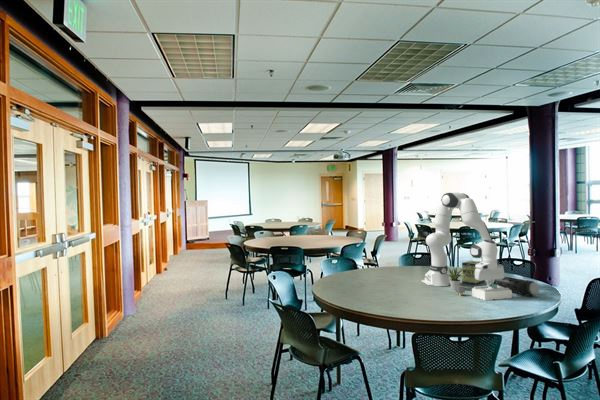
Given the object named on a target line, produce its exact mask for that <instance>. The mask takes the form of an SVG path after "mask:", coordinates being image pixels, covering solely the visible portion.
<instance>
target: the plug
mask: <svg viewBox="0 0 600 400" xmlns="http://www.w3.org/2000/svg"><path fill="white" fill-rule="evenodd" d="M465 291H466V290H465V286H464V285H461V284H460V285H458V286H456V290H455V292H456V296H460V297H461V296H463V295H464V293H465Z"/></svg>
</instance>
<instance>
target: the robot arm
mask: <svg viewBox="0 0 600 400" xmlns="http://www.w3.org/2000/svg"><path fill="white" fill-rule="evenodd" d="M454 209H458V210H459V212H460V217H461V220H462V223H463V224H464V225H465V226H467V227H469V228H472V229H474V230H476V231H477V232H478V233H479V235H480V238H481V242H478V243H474V244H472V245H471V246H470V248H469V254H470V256H471V257H472V258H474V259H481V261H480V263H478V264H476V265H475V267H476V269H475V279H476V280H479V281H481V280H484V282H486V283H485V284H486V286H488V287H492V286H493V283H494V279H504V277H505V270H504V266H503V265H502V264H500V263H499V264H498V258H497V256H498V246H497V243H496V241H495V240H493V237H492V236H491V234H490V230H489V229H488V227H487V224H486V222H485V221H484V220H482V218H481V216H480V214H479V210H478V208H477V205H476V202H475V201H474V199H473V198H470V195H468V194H466V193H464V192H463V193H461V192H445V193H444V194H443V195H442V196H441V199H440V201H439V202H438V205H437V208H436V211H435V216H434V221H433V224H434V228H435V232H432V233H430V234H428V235H426V238H425V243H426V245H427V246H428V248H429V251H430V258H431V259H430V260H431V261H430V262H431V264H430V265H429V270H428V271H427V272H426V273H425V275H424V279H421V283H424V284H426V285H427V286H435V287H448V286H451V285H450V276H449V275H450V272H449V269H448V268H449V266H448V255H447V253H446V251H445V247H446V246H447V245H450V243H451V242H452V235H451V231H450V230H451V222H452V221H451V220H452V214H453V211H454ZM447 267H448V268H447Z"/></svg>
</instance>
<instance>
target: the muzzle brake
mask: <svg viewBox="0 0 600 400" xmlns="http://www.w3.org/2000/svg"><path fill="white" fill-rule="evenodd" d="M493 284H495V285H499V286H500V287H504V288H509V290H512V293H516V294H520V295H521V294H522V295H521V296H524V295H527V296H529V297H533V296H537V295H538V294H539V292H540V286H539V284H538V283H537V282H535V281H533V280H527V279H526V280H525V279H520V278H515V277H510V276H505V277H504V279H494V283H493Z"/></svg>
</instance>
